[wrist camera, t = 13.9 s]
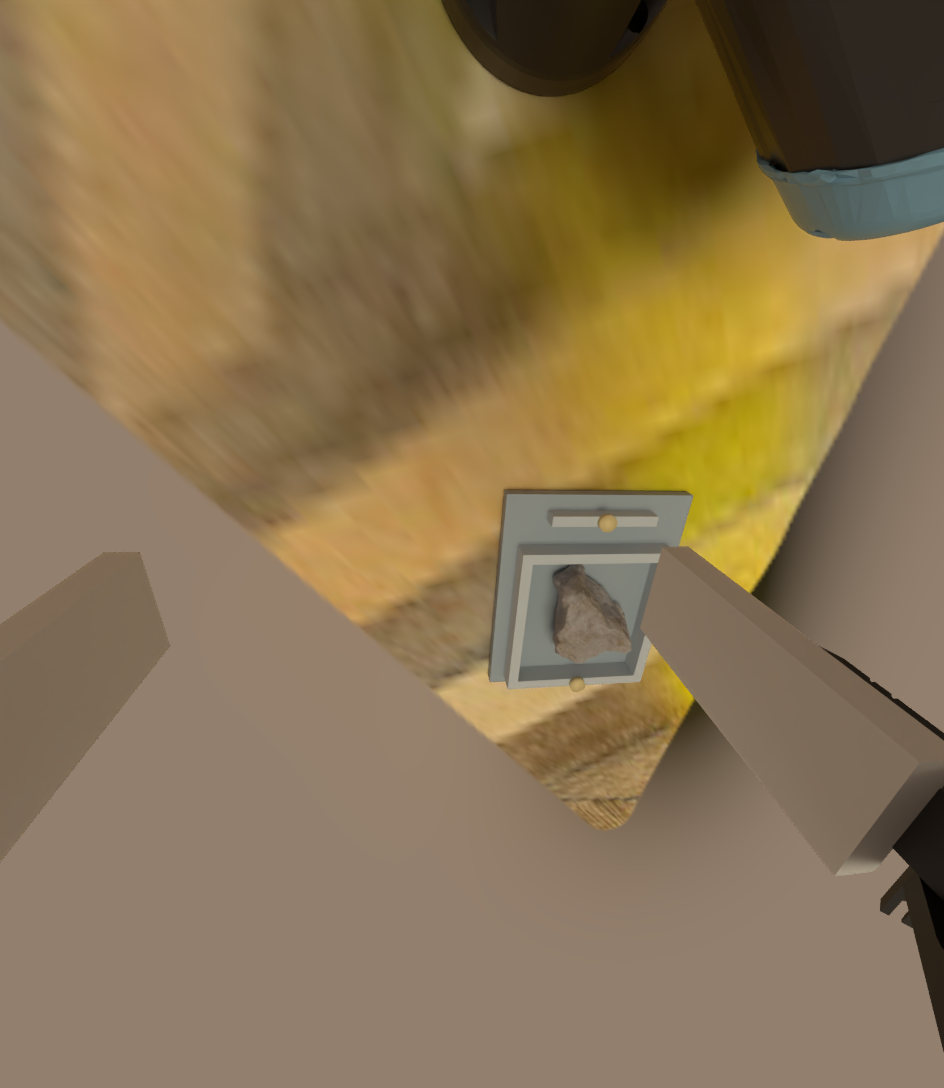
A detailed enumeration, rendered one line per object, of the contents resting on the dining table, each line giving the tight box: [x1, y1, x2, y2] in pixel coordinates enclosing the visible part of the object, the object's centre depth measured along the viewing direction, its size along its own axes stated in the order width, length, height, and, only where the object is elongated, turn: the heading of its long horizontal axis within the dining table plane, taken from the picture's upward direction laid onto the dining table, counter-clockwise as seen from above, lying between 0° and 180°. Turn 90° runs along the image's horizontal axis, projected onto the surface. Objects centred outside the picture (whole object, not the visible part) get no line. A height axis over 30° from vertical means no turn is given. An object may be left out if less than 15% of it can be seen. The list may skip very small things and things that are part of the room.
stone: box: [553, 564, 632, 663], centre depth 41 cm, size 8×10×6 cm
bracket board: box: [488, 490, 693, 692], centre depth 43 cm, size 22×18×4 cm
